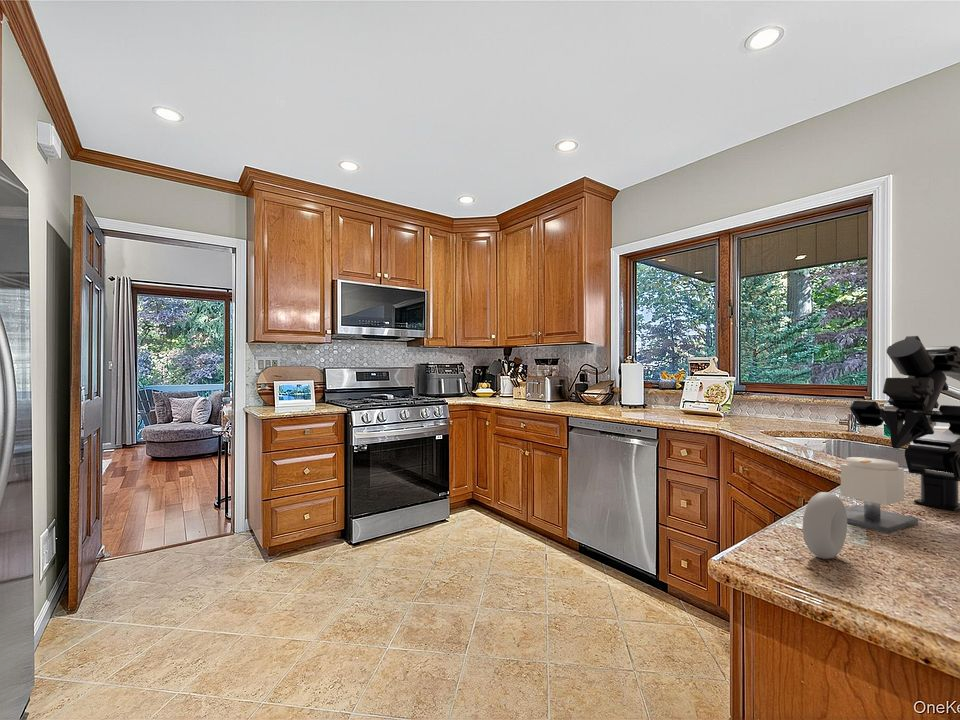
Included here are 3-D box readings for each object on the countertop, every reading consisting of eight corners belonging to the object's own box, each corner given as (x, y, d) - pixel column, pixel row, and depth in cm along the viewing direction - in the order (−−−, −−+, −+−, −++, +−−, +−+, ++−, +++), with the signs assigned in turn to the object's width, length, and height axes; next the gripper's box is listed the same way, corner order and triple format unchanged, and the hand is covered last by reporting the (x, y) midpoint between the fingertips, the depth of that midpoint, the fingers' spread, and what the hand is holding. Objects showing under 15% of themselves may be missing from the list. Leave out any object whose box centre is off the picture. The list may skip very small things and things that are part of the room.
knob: (858, 490, 92) (857, 455, 92) (906, 500, 85) (906, 461, 85) (838, 495, 88) (837, 458, 88) (887, 505, 81) (886, 465, 82)
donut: (826, 569, 65) (825, 499, 66) (798, 561, 68) (798, 494, 68) (851, 554, 71) (850, 490, 71) (825, 547, 74) (824, 485, 74)
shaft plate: (857, 509, 94) (857, 477, 94) (917, 523, 86) (917, 488, 86) (826, 517, 89) (826, 483, 89) (887, 533, 80) (887, 495, 80)
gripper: (853, 364, 102) (826, 415, 97) (970, 363, 85) (943, 425, 80) (873, 398, 105) (847, 449, 100) (988, 404, 89) (964, 466, 84)
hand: (894, 447), depth 91 cm, fingers closed
